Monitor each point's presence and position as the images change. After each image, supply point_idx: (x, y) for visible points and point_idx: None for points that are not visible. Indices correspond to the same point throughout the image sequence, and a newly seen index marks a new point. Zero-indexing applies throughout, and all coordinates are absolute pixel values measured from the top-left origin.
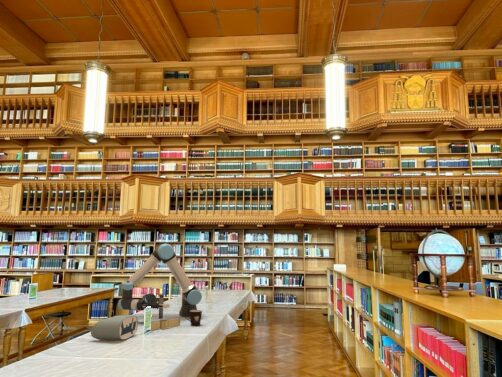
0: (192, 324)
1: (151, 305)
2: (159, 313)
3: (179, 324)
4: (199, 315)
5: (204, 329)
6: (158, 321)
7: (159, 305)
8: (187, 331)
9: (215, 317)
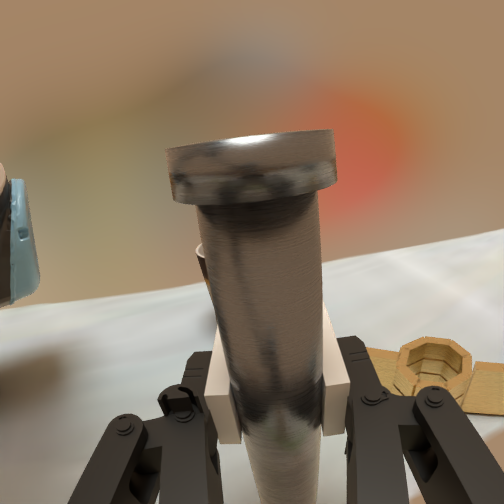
0: None
1: (485, 463)
2: (318, 471)
3: None
4: None
5: None
6: (487, 368)
7: (371, 364)
8: (396, 294)
9: (53, 316)
